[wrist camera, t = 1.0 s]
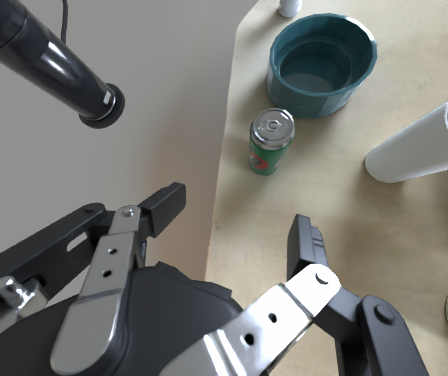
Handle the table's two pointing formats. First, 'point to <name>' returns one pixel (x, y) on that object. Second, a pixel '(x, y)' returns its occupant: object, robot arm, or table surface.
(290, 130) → the soda can
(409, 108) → the table surface
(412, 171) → the mug
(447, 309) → the can
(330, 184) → the table surface
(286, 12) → the rook chess piece
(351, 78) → the teal serving bowl
